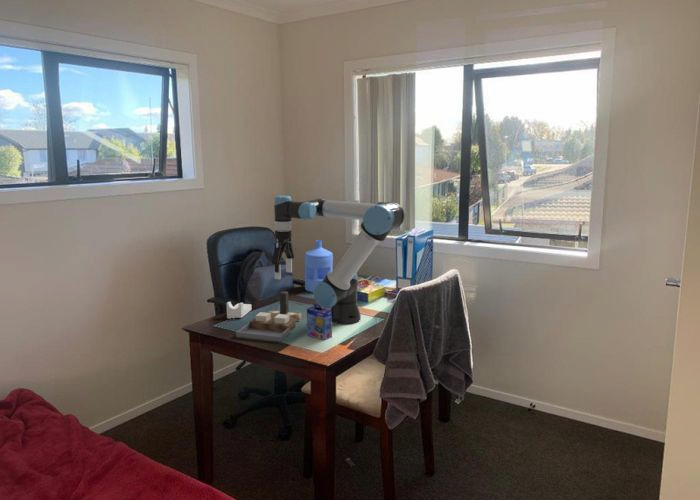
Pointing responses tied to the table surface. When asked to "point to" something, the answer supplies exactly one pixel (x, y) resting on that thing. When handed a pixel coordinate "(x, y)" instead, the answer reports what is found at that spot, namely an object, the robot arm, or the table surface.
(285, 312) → the inverted t-shaped stand
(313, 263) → the water jug
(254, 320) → the walnut board
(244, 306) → the bracket
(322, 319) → the ink cartridge box
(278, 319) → the tile
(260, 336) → the box
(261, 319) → the tile
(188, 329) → the table surface
